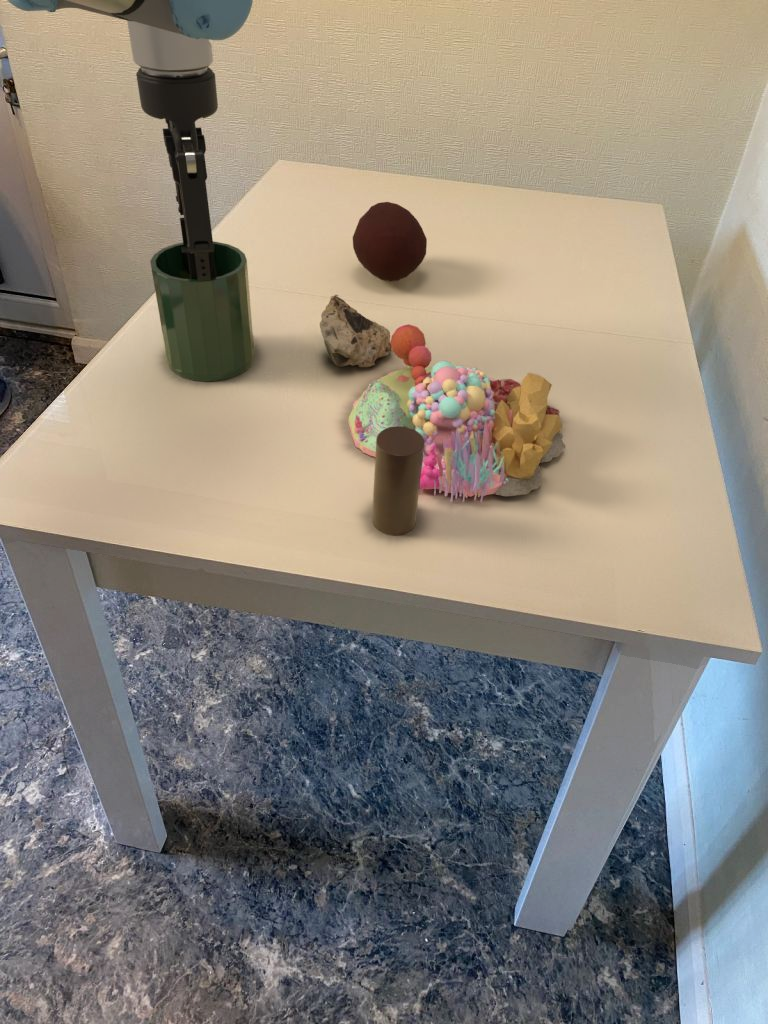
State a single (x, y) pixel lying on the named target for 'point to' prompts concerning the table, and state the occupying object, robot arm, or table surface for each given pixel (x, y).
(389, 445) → the post
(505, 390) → the candy landscape model
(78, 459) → the table surface
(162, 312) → the tube
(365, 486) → the table surface
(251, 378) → the table surface
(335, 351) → the rock
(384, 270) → the dark brown round lump
